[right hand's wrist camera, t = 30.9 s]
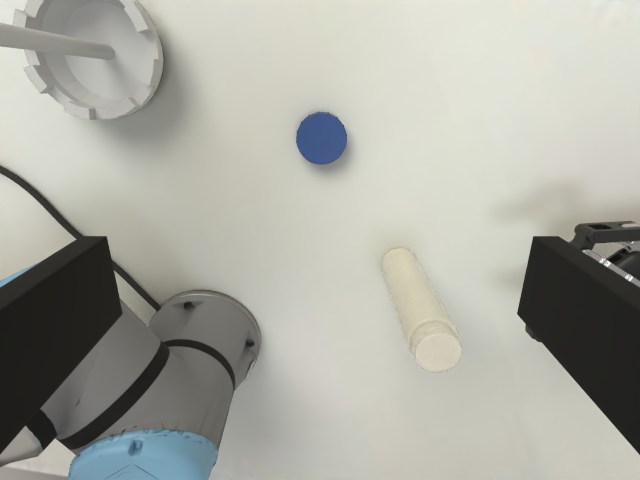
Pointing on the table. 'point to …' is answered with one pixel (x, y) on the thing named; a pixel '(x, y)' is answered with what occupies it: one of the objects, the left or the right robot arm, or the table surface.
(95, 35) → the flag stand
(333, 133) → the lid
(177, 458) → the right robot arm
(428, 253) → the table surface
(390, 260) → the tube
